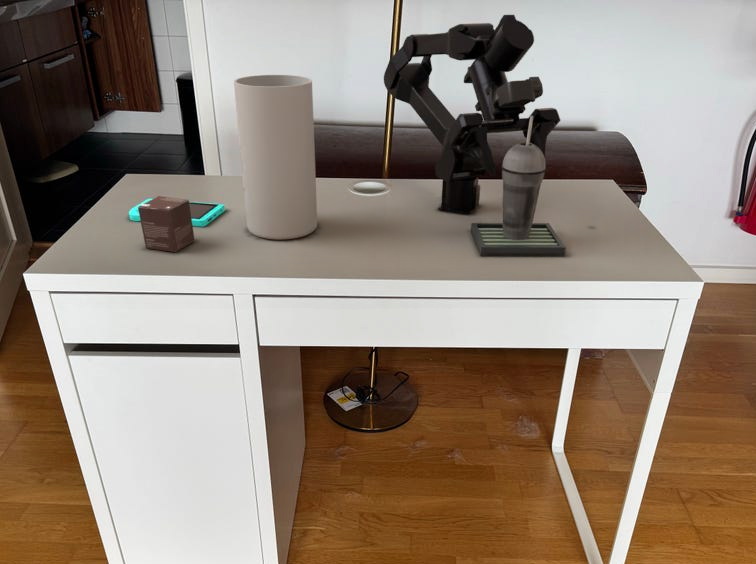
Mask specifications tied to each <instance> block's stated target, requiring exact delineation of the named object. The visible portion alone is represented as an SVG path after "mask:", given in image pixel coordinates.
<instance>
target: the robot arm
mask: <svg viewBox="0 0 756 564" xmlns="http://www.w3.org/2000/svg"><path fill="white" fill-rule="evenodd" d="M534 42H535V36H534V33H533V31H532V29H530V28H529V27H528V26H527V25H526V24H525V23H523V22H522V21H520V20H518V19H517V18H516V15H515V14H503V15H502V17H501V18H500V20H499V22H498V24H497V26H496V27H495V29H494V25H493V23H490V22H481V23H480V22H478V23H475V22H474V23H459V24H456V25H454V26H452V27H450V28H448V30H447V31H445V32H441V33H430V34H429V33H417V34H416V33H414V34H410V35H408V36H406V37H405V39H404V42H403V44H402V46H401V47H400V48H399V49H398V50H397V51H396V52H395V53H394V54H393V55H392V56H391V58H390V59H389V61H388V63H387V66H386V68H385V71H384V74H383V84H384V87H385V89H386V90H387V92H388V94H390V95H391V96H392V97H393V98H394V99H395V100H397V101H400V102H403V103H405V104H408V105H410V107H411V108H412V109H413V111H414V112H415V113H416V114H417V116H418V117H419V118H420V119H421V120H422V122H423V124H425V126H426V127H427V128H428V130H429V131H430V132H431V133H432V135H434V137H435V138H436V140H437V141H438V142H439V144H440V145H441V156H440V158H439V159H438V160H437V162H436V163H435V164H434V170H435V171H434V172H435V177H436V178H439V179H441V180H442V183H441V184H442V185H441V200H440V202H441V203H440V205H439V206H438V207H437V209H438V211H443V212H450V213H457V214H462V215H463V214H464V215H470V214H472V213H473V212H474V211H475V210H476V209H477V208H478V207H479V205H480V198H481V197H480V196H481V185H480V184H479V178H485V177H486V176H487V174H490V176H495V175H496V173H497V168H496V164H495V161H494V158H493V152H492V147H491V145H490V143H489V142H488V134H501V133H502V134H503V133H512V132H513V133H515V132H522V134H523V137H524V138H525V139H527V135H528V128H529V122H530V116H533V123H532V129H531V136H530V142H529V143H532V144H534V145H536V146H537V147H538V148H539V149H540V150H541V151H542V153H543V155H544V158H545V159H546V149H547V140H548V136H549V135H550V134H551V132H552V131H553V130H554V129H556V127H557V126H558V124H559V123H560V122H561V117H560V114H559V112H558V110H557V108H554V107H542V108H535V109H534V110H533V111H532V112H531V114H530V115H529V116H528V117H523V118H520V114H523V113H524V112H525V111H526V109H527V108H526V105H528V104H530V103H535V101H536V99H538V98H541V97H542V96H543V93H544V88H543V83H542V81H541V78H540V77H539V76H529V77H528V78H526V79H525V80H523V79H522V80H511V81H508V76H507V75H506V73H509V72H512V71H514V70H515V68H516V67H517V66H518V64H519V63H520V62H521V61H522V60H523V58H524V57H525V55H526V54H527V53H528V52H529V50H530V49H531V48H532V47H533V45H534ZM437 55H446V56H448V57H449V58H450V59H452V60H457V61H473V62H471V65H470V66H467V72H466V73H465V74H464V76H463V83H464V84H472V88H473V91H474V93H475V97H476V101H477V102H476V104H475V106H474V108H475V111H476V112H467V113H459V114H458V116H457V117H456V118H455V117H454V115H452V113H451V112H450V111H449V110H448V109H447V107H446V106H445V105H444V104H443V102H441V100H440V99H439V97H438V96H437V95H436V94H435V92H434V91H433V90H432V89H431V88H430V76H431V73H432V71H433V65H432V60H431V58H432V56H437ZM413 58H422V59H421V62H412V63H411V61H412V59H413ZM524 143H526V141H525V142H524Z"/></svg>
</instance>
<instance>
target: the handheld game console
mask: <svg viewBox="0 0 756 564" xmlns="http://www.w3.org/2000/svg"><path fill="white" fill-rule="evenodd" d="M152 199H153V198H147V199H145V200H143V201H142V202H141V203H139V204H137V205H135V206H134V207H132V208H131V209H130V210H129V212H128V215H129V216H128V217H129V219H130V220H131V221H133V222H141V220H140V216H139V210H138V207H139V206H140V205H142V204H144V203H146V202H148V201H150V200H152ZM189 206H190V212H191V219H192V225H193V227H202V228H203V227H206V226H208V225H209V224H210V223H211V222H213V221H214V220H215V219H216V218H217V217H219V216H220V215H222V214H223V213H224V212H225V211H226V208H225V204H224V203H223V204H222V203H212V202H211V203H208V202H198V201H189Z"/></svg>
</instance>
